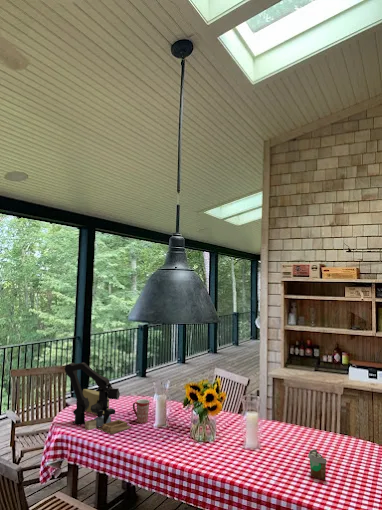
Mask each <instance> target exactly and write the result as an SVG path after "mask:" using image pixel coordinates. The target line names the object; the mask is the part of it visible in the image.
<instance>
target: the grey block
mask: <svg viewBox="0 0 382 510" xmlns="http://www.w3.org/2000/svg"><path fill="white" fill-rule="evenodd" d="M93 420H96V428H100V427H102V424H104V416H102V417H97V416H96V417H95V418H93ZM109 422H112V416H111V415H110V416H109V418H108V420H107V422H106V423H109Z"/></svg>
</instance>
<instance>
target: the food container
mask: <svg viewBox="0 0 382 510" xmlns="http://www.w3.org/2000/svg"><path fill="white" fill-rule="evenodd" d="M317 450H318V449H317V448H316V449H311V450H309V451H308V456H307V457H308V459H309V466H310V468H309V469H310V475H311V476H312V477H313V478H314V479H318V480H323V481H325V480H326V476H327V475H326V472H327V471H326V470H327V458H325V457H323V456H322V454H321V453H319V452H318V451H317Z"/></svg>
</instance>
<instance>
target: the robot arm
mask: <svg viewBox="0 0 382 510" xmlns="http://www.w3.org/2000/svg"><path fill="white" fill-rule="evenodd" d="M79 370H80V371H82V372H83V373H85V374H86V375H87V376H89V377H90V378H91V379H92V380H93V381H94V382H95V384H96V385H97V386H98V388H97V389H96V390H95V391H98V392H99V400H97V403H96V404H94V405H92V406H91V411H92V412H94V413H96V414H97V415H96V417H102V415H103V416H104V424H106V422H107V420H108V418H109V416H110V417H111V415H115V414H116V409H114V408H112V407H111V408H110V405H109V406H107V404H108V402H109V403H110V400H119V398H120V396H121V394H120V388H117V387H116V388H115V387H114V388H113V386H112V384H111V383H110V379H109V378H108V377H105V376H104V375H100V374H99V373H98V372H96V371H95V370H94V369H93V368H91V366H89V365H88V364H87V363H86V362H79V363H75V362H71V363H67V364H66V365H65V366H64V372H65V374H66V376H67V377H68V378H69V379H70V382H71V386H72V389H73V391H74V396H75V399H76V402H75V403H76V404H75V406H76V408H75V409H74V410H73V411H72V413H73V415H74V421H73V422H72V424H75V425H78V426H79V425H83V424H85V421H86V419H85V418H86V415H85V413H87V412H86V410H87V409H88V408H89V401H88V397H87V398H85V397H84V395H83V390H82V387H81V384H80V381H79V377H78V371H79ZM108 398H109V400H108ZM107 408H109V409H107ZM103 411H104V414H103Z"/></svg>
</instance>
